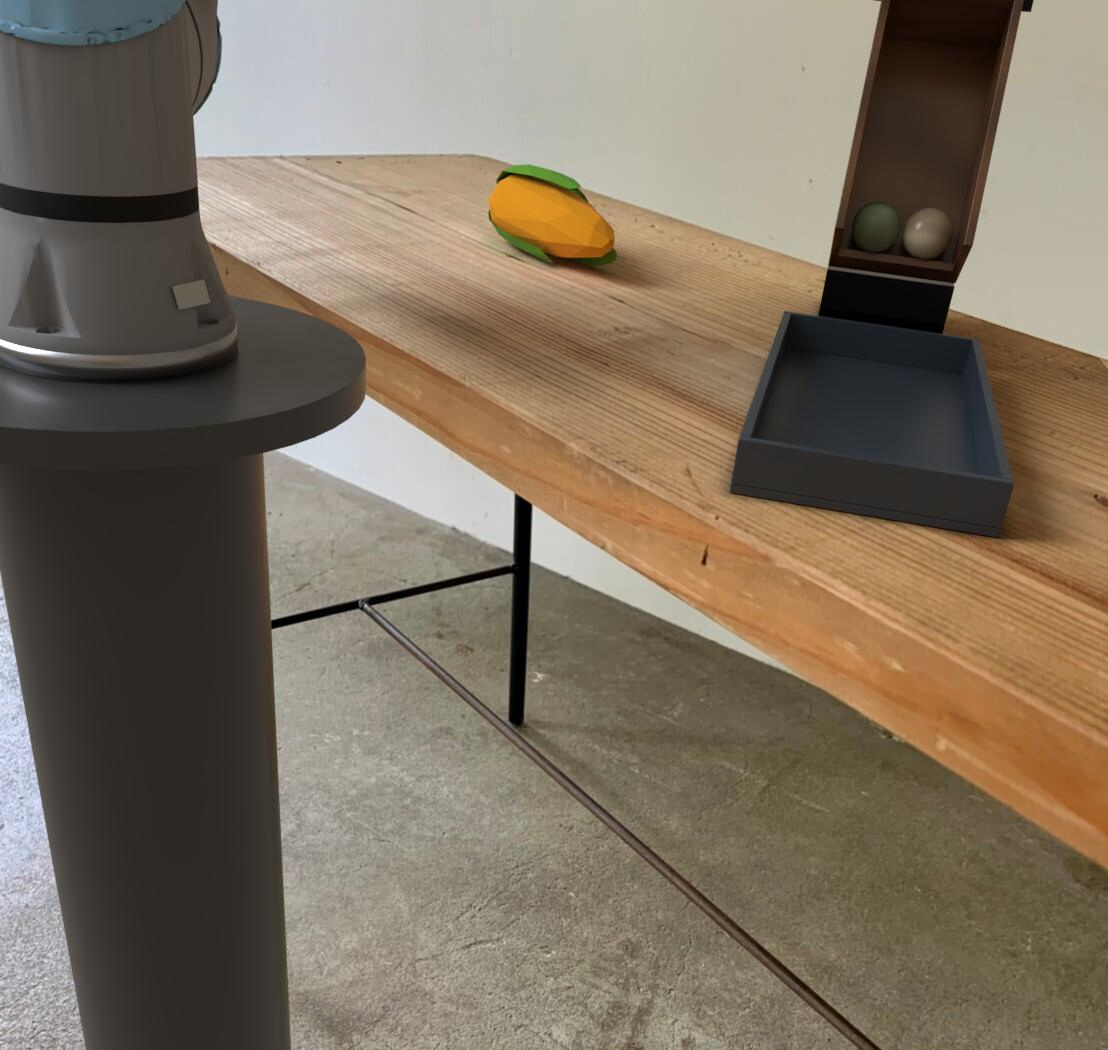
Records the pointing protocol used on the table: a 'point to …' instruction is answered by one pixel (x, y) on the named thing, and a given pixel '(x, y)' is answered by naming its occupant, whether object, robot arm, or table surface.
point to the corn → (549, 216)
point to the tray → (876, 426)
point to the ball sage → (876, 226)
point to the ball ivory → (927, 233)
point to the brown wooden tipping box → (927, 126)
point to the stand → (886, 299)
